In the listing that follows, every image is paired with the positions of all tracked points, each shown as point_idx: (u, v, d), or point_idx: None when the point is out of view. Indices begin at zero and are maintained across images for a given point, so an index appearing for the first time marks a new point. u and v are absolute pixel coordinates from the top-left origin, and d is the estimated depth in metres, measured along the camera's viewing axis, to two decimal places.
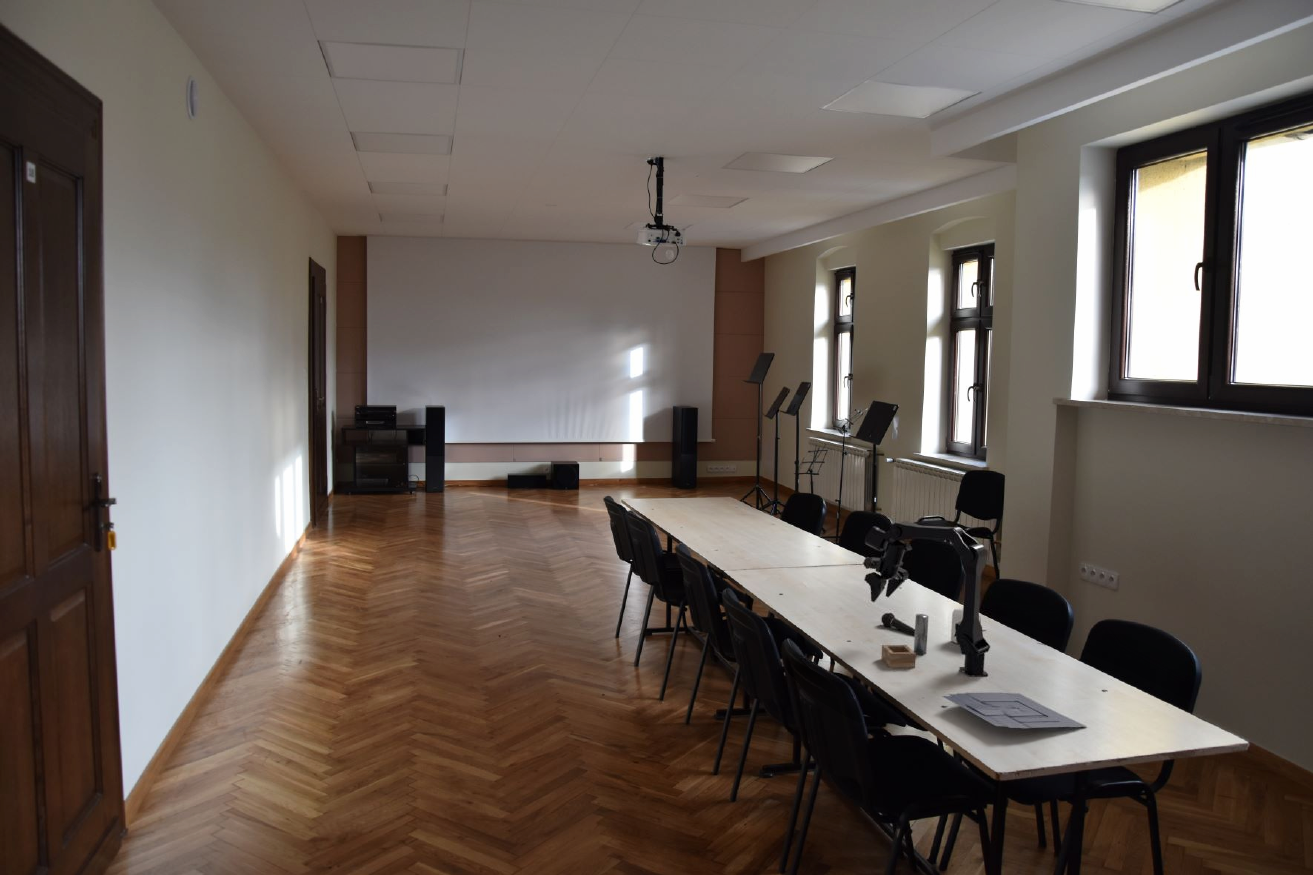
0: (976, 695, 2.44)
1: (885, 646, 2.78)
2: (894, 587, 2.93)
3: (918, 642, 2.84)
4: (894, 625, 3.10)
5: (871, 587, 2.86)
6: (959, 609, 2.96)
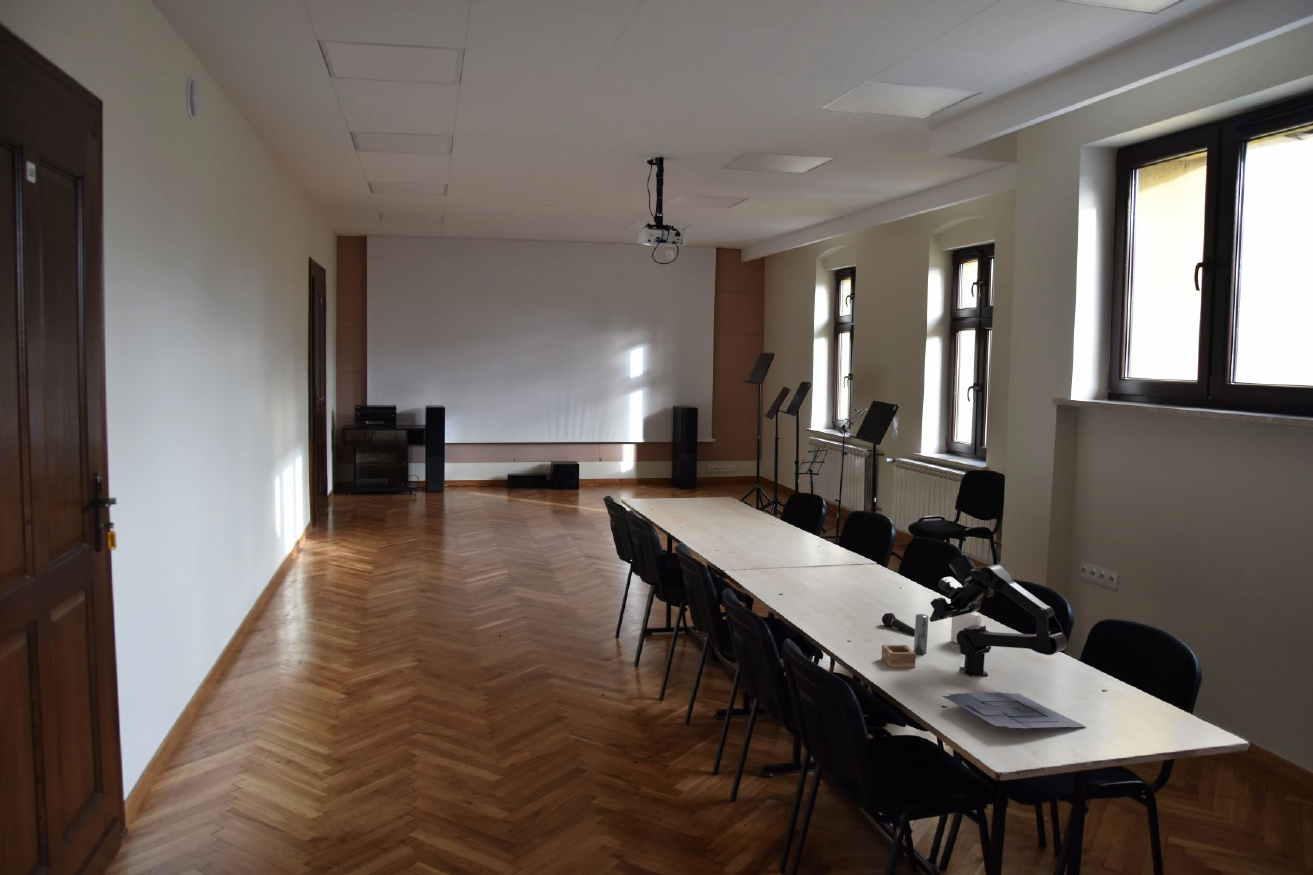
0: (975, 695, 2.44)
1: (885, 646, 2.78)
2: (960, 613, 2.78)
3: (918, 642, 2.84)
4: (894, 625, 3.10)
5: (934, 610, 2.73)
6: None
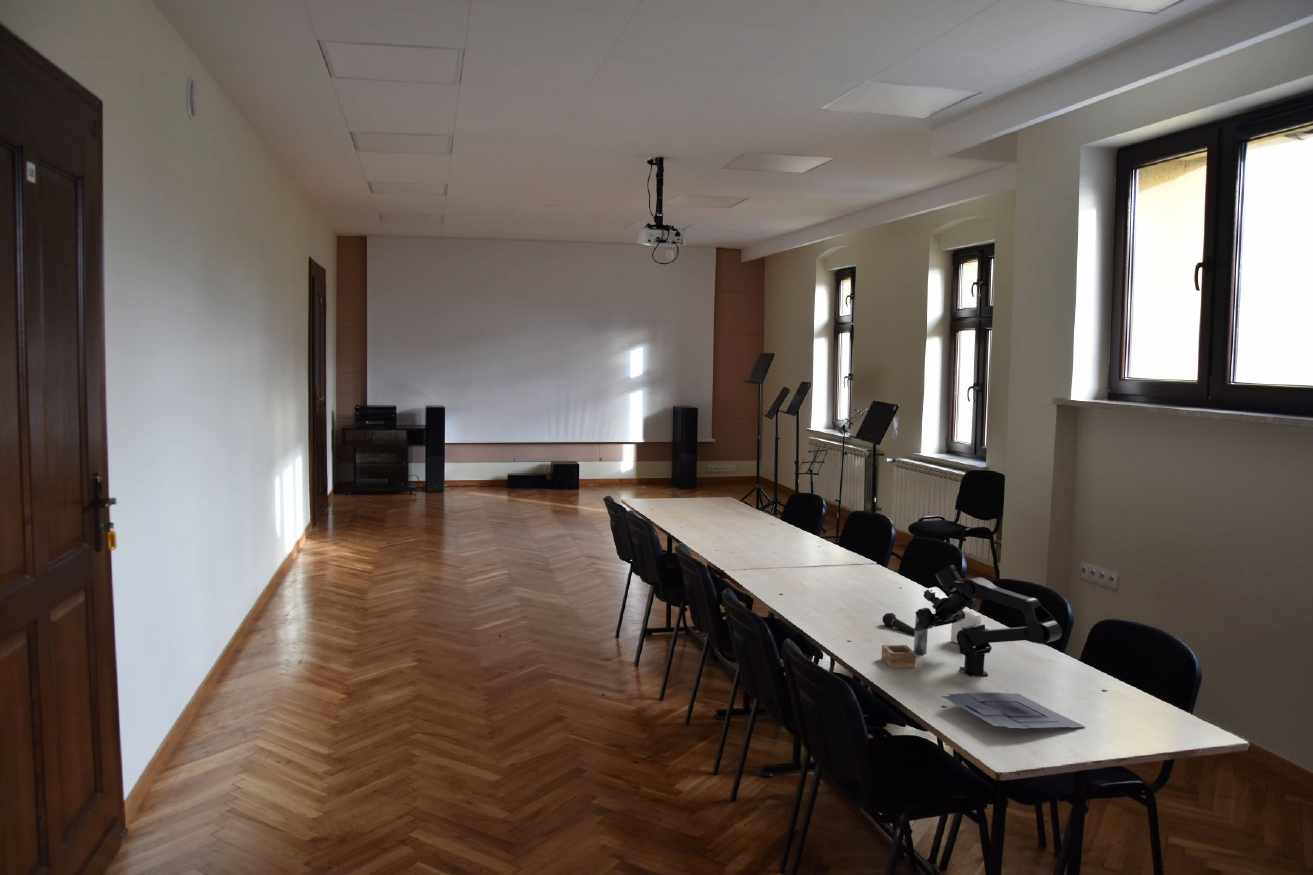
0: (975, 695, 2.44)
1: (885, 646, 2.78)
2: (945, 622, 2.84)
3: (918, 642, 2.84)
4: (895, 625, 3.10)
5: None
6: None
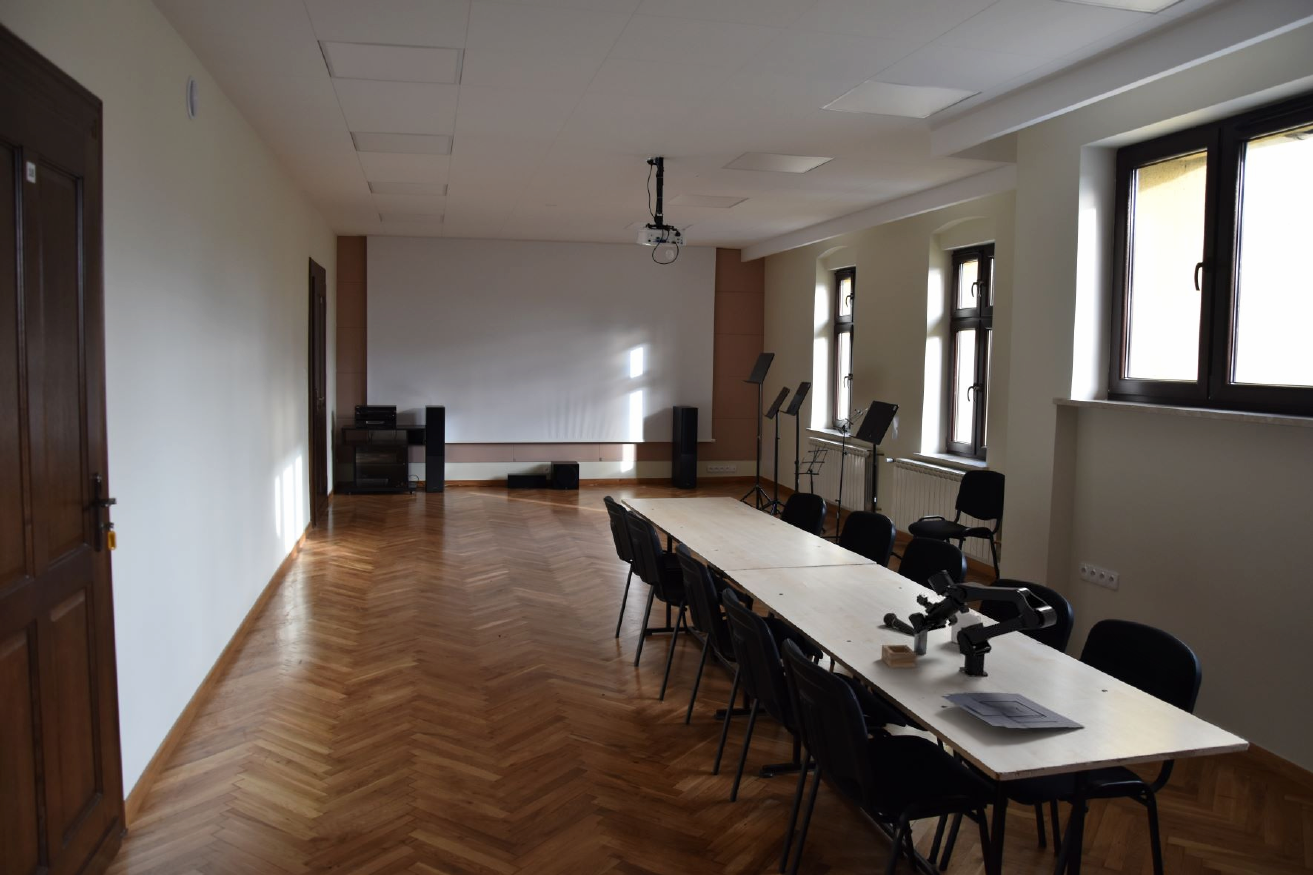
0: (974, 695, 2.44)
1: (885, 646, 2.78)
2: (933, 628, 2.85)
3: (918, 642, 2.84)
4: (896, 625, 3.10)
5: None
6: None
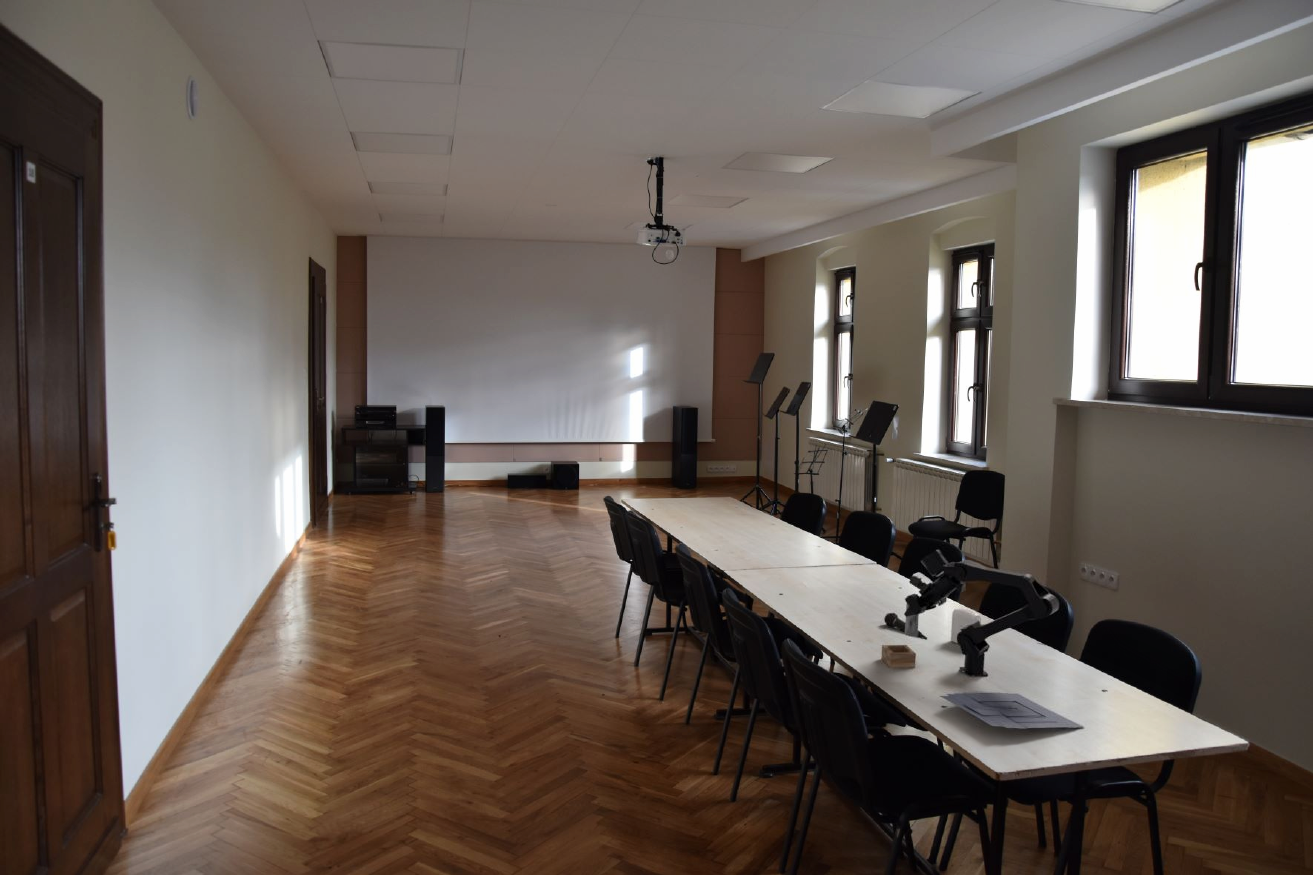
0: (973, 695, 2.44)
1: (885, 646, 2.78)
2: None
3: (911, 623, 2.81)
4: (897, 625, 3.10)
5: None
6: (959, 609, 2.96)
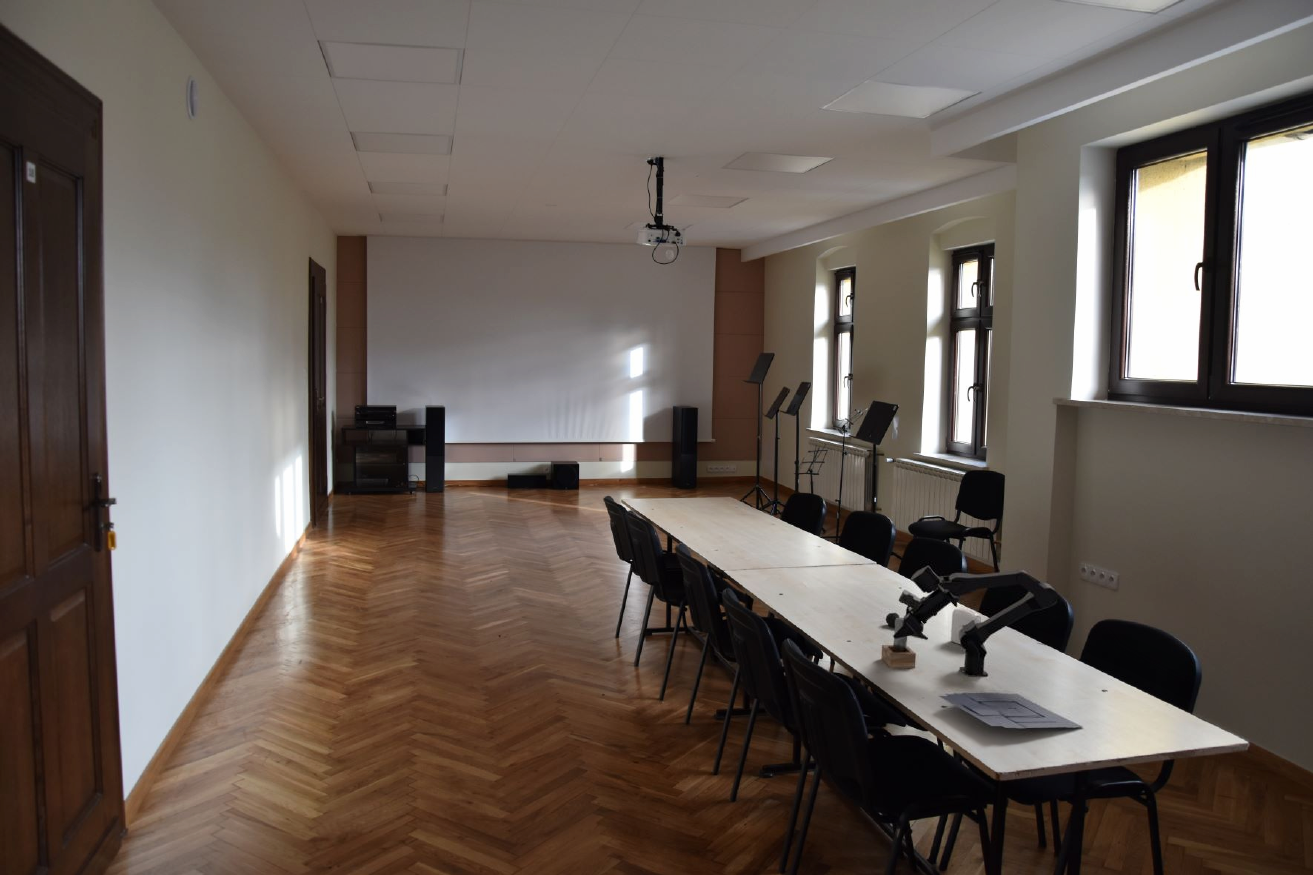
0: (972, 695, 2.44)
1: (885, 646, 2.78)
2: None
3: (901, 647, 2.73)
4: None
5: (903, 626, 2.68)
6: (959, 609, 2.96)
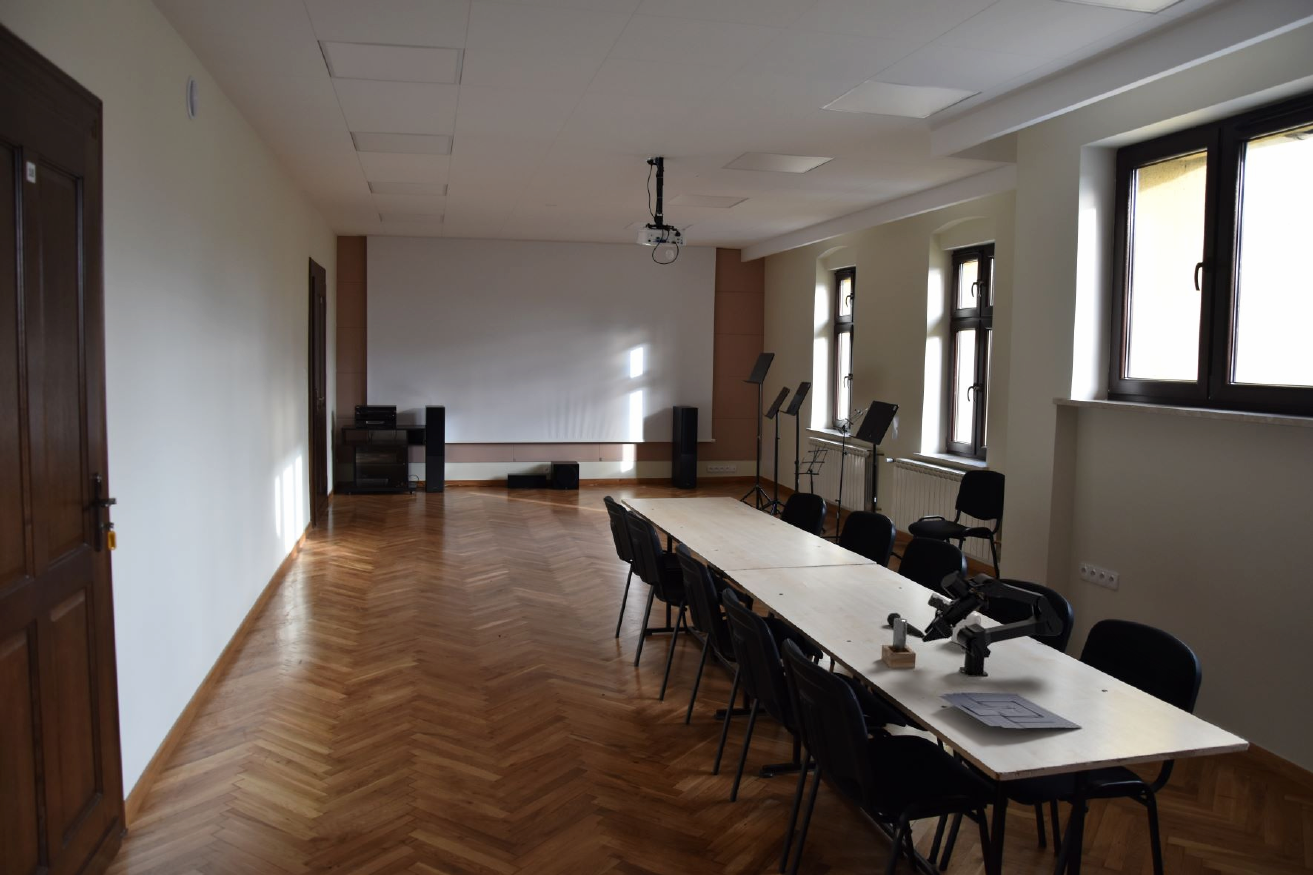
0: (972, 695, 2.44)
1: (885, 646, 2.78)
2: None
3: (901, 647, 2.73)
4: None
5: (932, 630, 2.65)
6: None
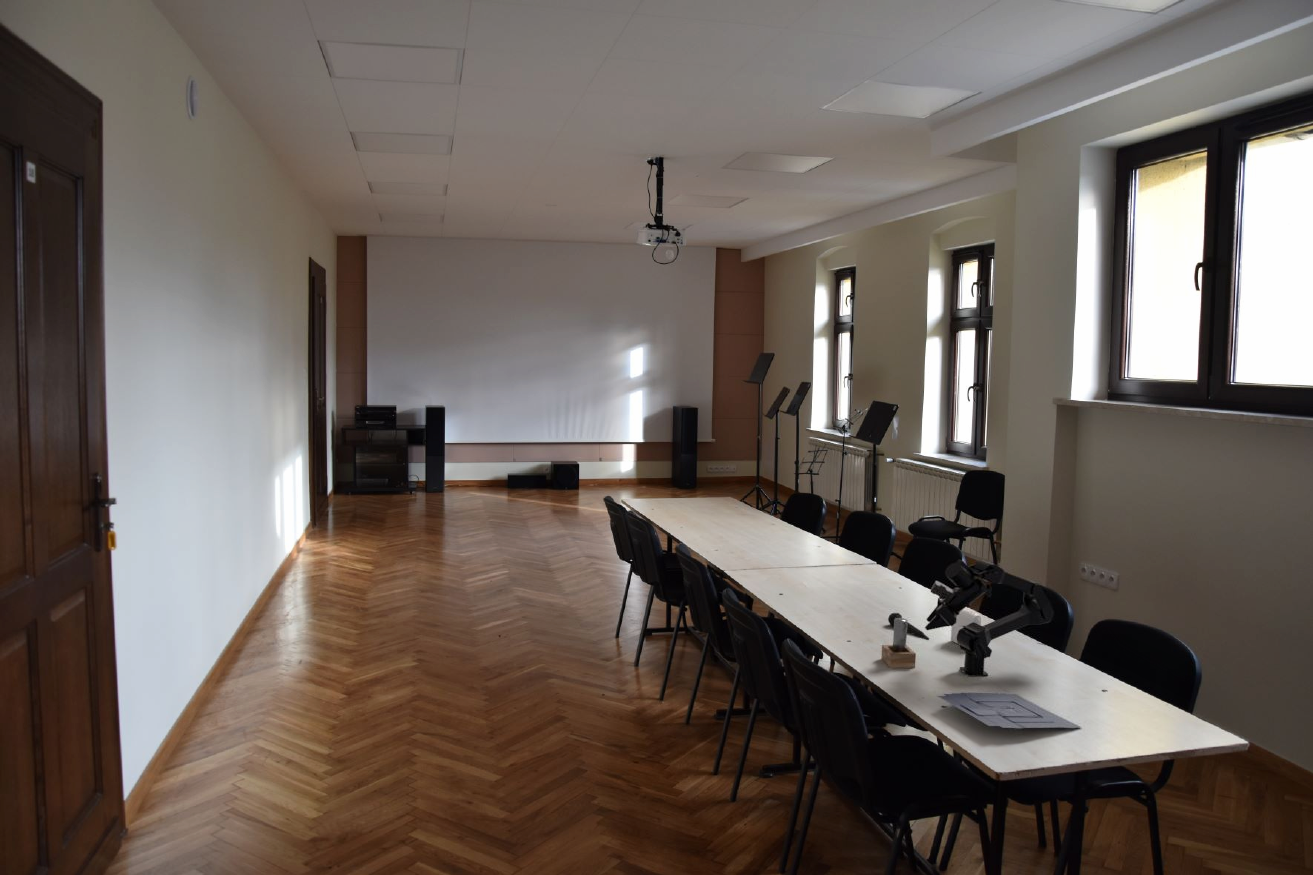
0: (971, 695, 2.44)
1: (885, 646, 2.78)
2: None
3: (901, 647, 2.73)
4: None
5: (936, 617, 2.65)
6: None
